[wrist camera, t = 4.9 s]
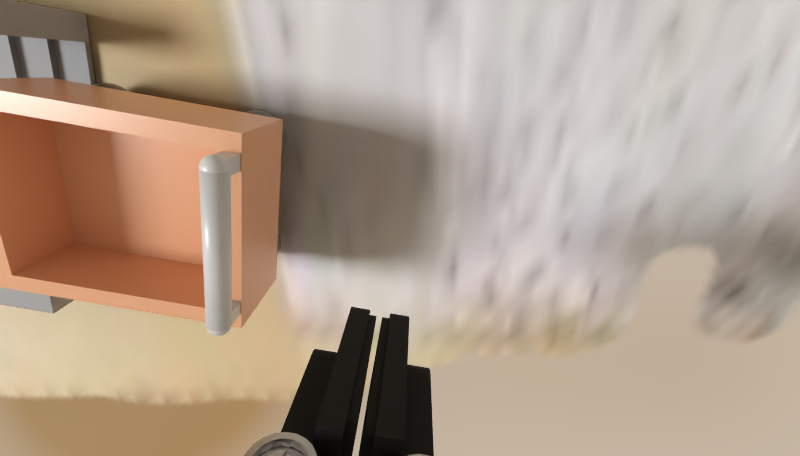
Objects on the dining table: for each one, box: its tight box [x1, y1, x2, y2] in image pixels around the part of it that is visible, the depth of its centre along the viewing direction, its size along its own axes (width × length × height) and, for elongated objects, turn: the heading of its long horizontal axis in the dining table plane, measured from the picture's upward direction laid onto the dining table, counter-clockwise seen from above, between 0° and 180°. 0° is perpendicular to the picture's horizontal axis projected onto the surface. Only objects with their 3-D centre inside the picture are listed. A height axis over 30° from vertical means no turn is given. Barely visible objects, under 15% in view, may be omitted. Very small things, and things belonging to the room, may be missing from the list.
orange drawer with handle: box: [0, 78, 285, 336], centre depth 16 cm, size 10×8×8 cm
